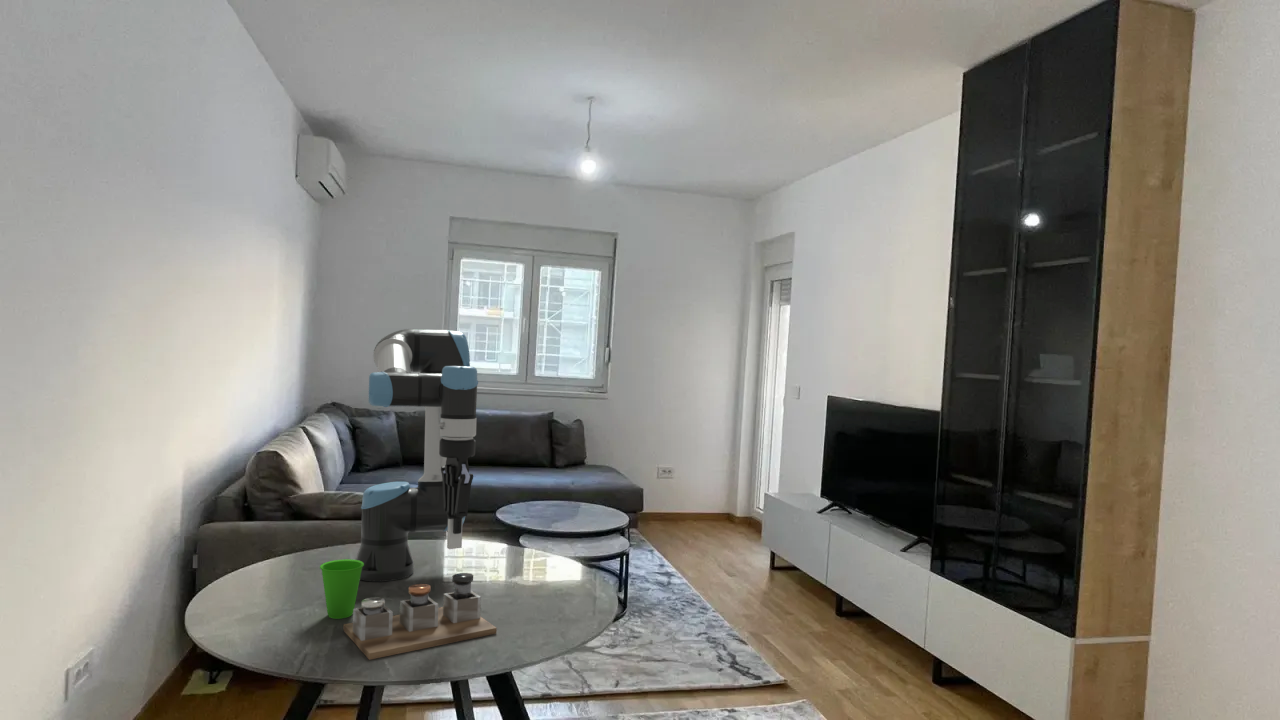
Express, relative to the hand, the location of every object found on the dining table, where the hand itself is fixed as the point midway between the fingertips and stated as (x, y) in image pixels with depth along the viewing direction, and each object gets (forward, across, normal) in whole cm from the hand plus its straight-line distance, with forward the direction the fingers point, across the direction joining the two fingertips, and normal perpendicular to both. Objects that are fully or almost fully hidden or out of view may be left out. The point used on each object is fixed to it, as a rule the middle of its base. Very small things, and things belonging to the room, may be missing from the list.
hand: (454, 547), depth 161 cm
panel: (+16, +1, -7) cm, 18 cm away
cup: (+17, -17, -19) cm, 30 cm away
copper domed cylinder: (+12, 0, -7) cm, 14 cm away
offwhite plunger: (+14, 0, -17) cm, 22 cm away
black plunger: (+11, 0, +2) cm, 12 cm away
